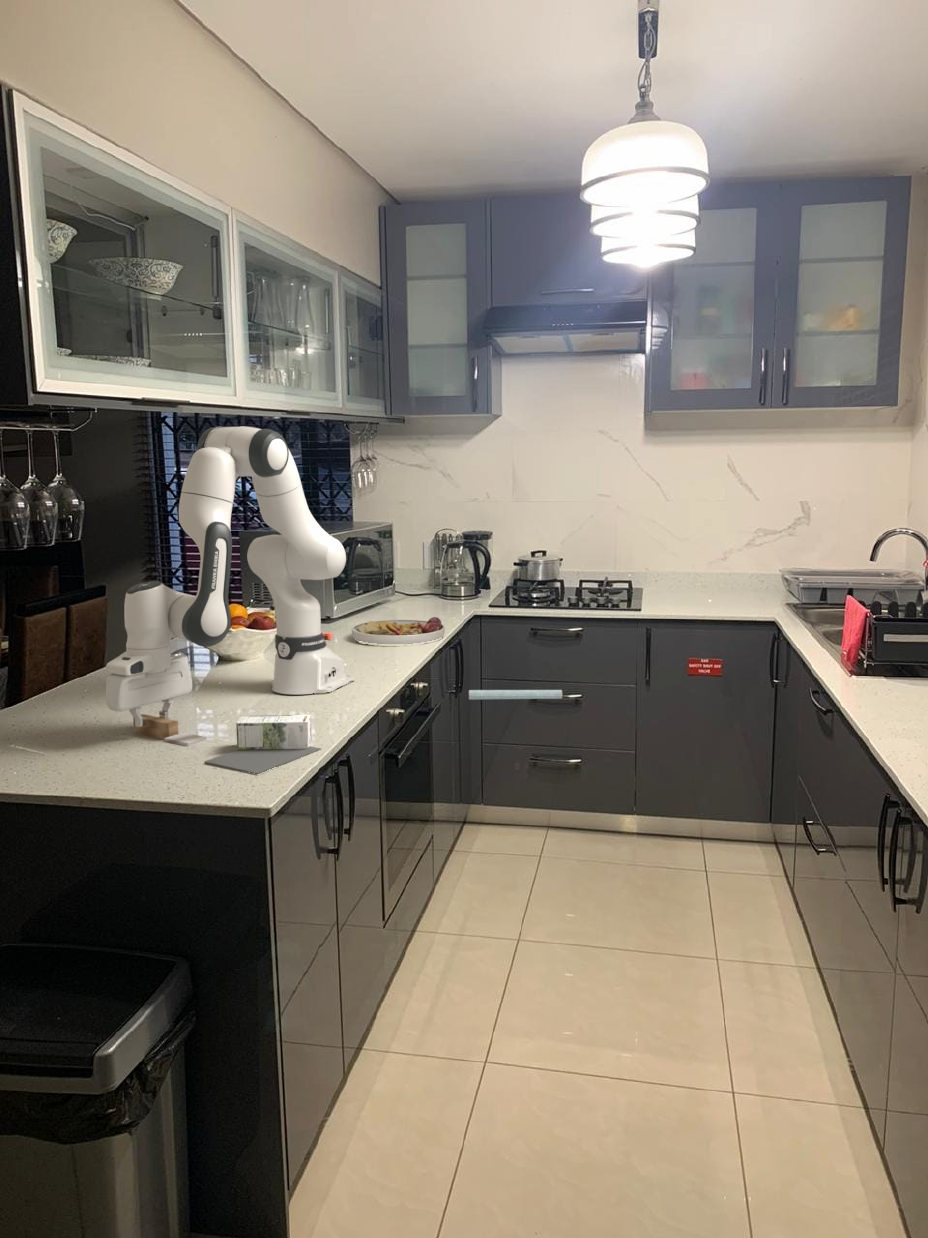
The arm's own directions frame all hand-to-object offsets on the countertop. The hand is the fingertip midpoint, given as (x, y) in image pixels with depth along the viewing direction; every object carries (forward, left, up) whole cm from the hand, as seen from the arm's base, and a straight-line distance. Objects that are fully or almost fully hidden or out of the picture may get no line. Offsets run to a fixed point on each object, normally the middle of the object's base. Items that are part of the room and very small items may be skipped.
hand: (153, 722), depth 204 cm
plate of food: (-114, -17, -3) cm, 115 cm away
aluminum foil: (-62, +54, -3) cm, 83 cm away
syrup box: (-1, +24, +1) cm, 24 cm away
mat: (0, +32, -3) cm, 32 cm away
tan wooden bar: (0, +5, -3) cm, 6 cm away
